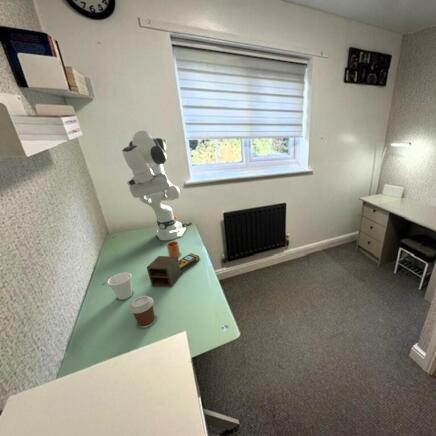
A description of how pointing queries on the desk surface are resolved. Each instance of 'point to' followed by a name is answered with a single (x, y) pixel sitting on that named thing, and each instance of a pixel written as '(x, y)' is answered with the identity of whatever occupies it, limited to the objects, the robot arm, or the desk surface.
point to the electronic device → (187, 261)
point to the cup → (121, 285)
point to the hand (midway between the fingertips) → (157, 200)
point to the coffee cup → (143, 311)
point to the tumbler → (173, 249)
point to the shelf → (164, 266)
